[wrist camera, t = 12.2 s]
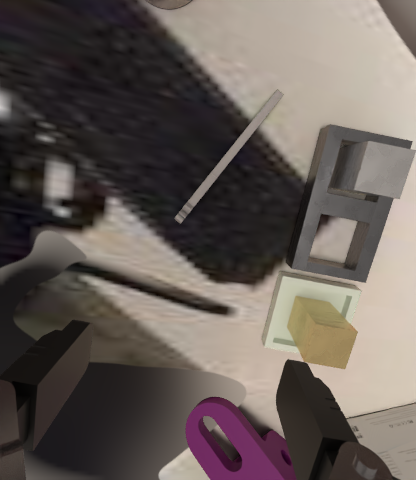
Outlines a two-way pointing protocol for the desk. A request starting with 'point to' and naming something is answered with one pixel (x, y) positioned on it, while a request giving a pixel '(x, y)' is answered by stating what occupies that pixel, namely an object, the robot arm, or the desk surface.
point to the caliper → (228, 156)
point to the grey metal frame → (339, 209)
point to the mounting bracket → (236, 445)
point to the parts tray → (308, 287)
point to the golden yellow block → (321, 332)
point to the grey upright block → (372, 169)
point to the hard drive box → (390, 438)
